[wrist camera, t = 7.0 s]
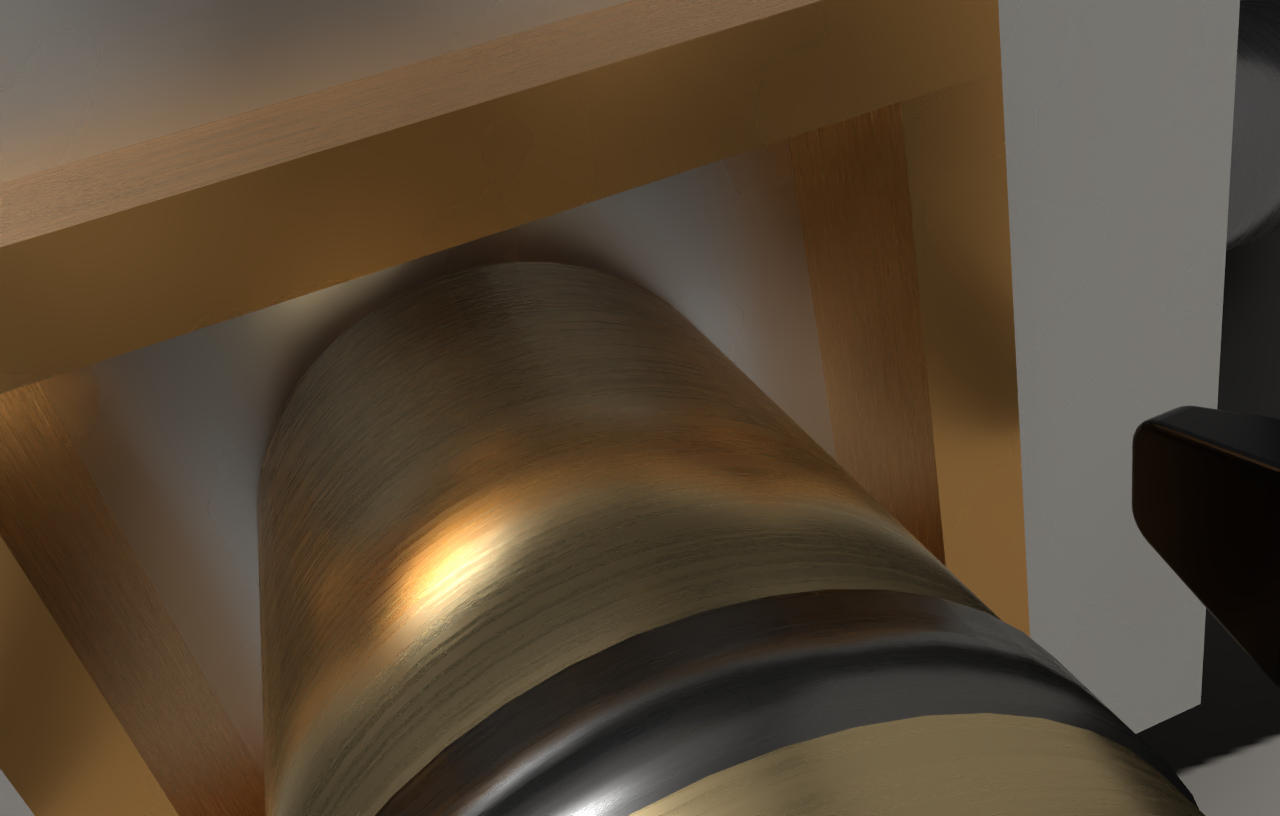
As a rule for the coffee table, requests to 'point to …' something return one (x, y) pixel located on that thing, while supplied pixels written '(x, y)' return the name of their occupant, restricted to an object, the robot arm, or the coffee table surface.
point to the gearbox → (612, 243)
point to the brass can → (625, 591)
